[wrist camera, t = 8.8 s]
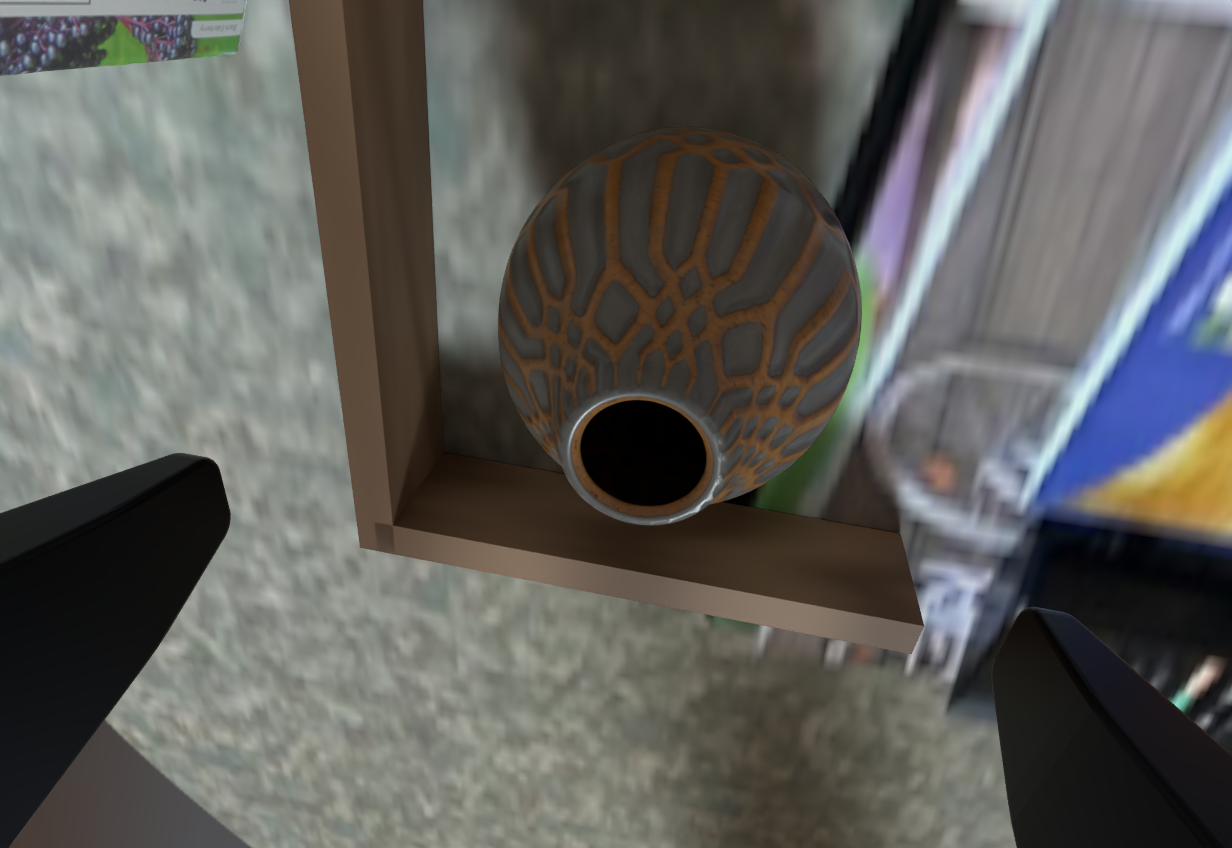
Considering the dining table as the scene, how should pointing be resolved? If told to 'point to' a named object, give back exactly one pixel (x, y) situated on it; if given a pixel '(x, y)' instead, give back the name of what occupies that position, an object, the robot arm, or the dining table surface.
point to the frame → (497, 492)
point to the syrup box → (114, 32)
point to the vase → (678, 321)
